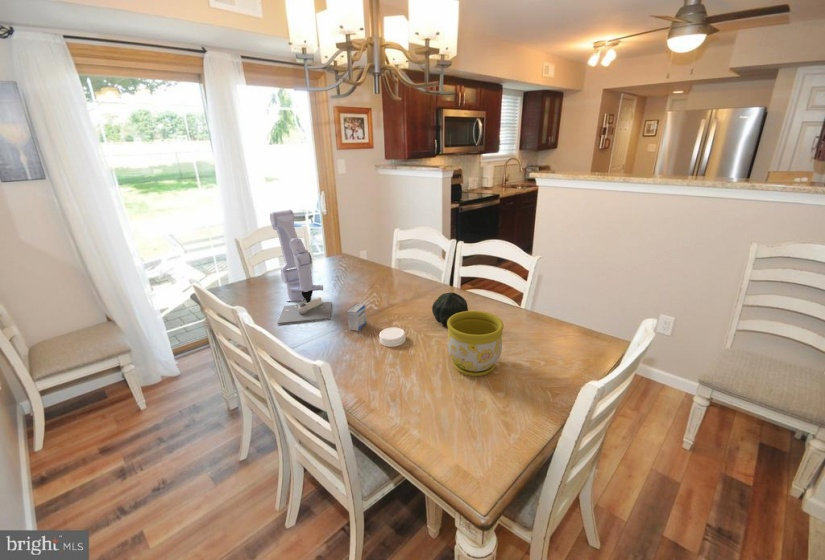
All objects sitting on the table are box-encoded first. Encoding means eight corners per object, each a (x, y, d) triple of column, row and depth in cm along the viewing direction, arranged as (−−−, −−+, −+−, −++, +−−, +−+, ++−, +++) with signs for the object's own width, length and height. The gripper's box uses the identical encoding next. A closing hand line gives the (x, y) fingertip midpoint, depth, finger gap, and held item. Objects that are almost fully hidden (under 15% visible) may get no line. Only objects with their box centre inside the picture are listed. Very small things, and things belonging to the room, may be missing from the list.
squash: (445, 298, 163) (435, 282, 151) (476, 306, 156) (468, 290, 144) (433, 327, 158) (422, 312, 146) (465, 336, 151) (456, 322, 139)
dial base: (284, 307, 172) (284, 305, 172) (331, 303, 175) (331, 301, 175) (277, 325, 155) (277, 322, 155) (329, 319, 159) (329, 317, 158)
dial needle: (303, 314, 161) (301, 307, 160) (296, 312, 163) (295, 305, 162) (324, 304, 171) (323, 296, 170) (318, 302, 173) (317, 295, 172)
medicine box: (358, 331, 148) (356, 312, 145) (348, 330, 149) (346, 311, 146) (366, 322, 155) (365, 304, 152) (357, 321, 156) (355, 303, 153)
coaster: (382, 349, 134) (381, 341, 133) (377, 336, 143) (377, 329, 142) (408, 345, 137) (408, 336, 136) (402, 333, 146) (401, 325, 145)
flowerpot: (464, 346, 134) (465, 306, 129) (510, 362, 123) (513, 319, 118) (436, 368, 121) (436, 325, 116) (484, 389, 110) (486, 342, 105)
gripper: (287, 282, 160) (292, 310, 165) (321, 279, 162) (324, 307, 167) (290, 277, 167) (294, 304, 171) (322, 274, 169) (325, 301, 173)
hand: (309, 305), depth 170 cm, fingers closed
